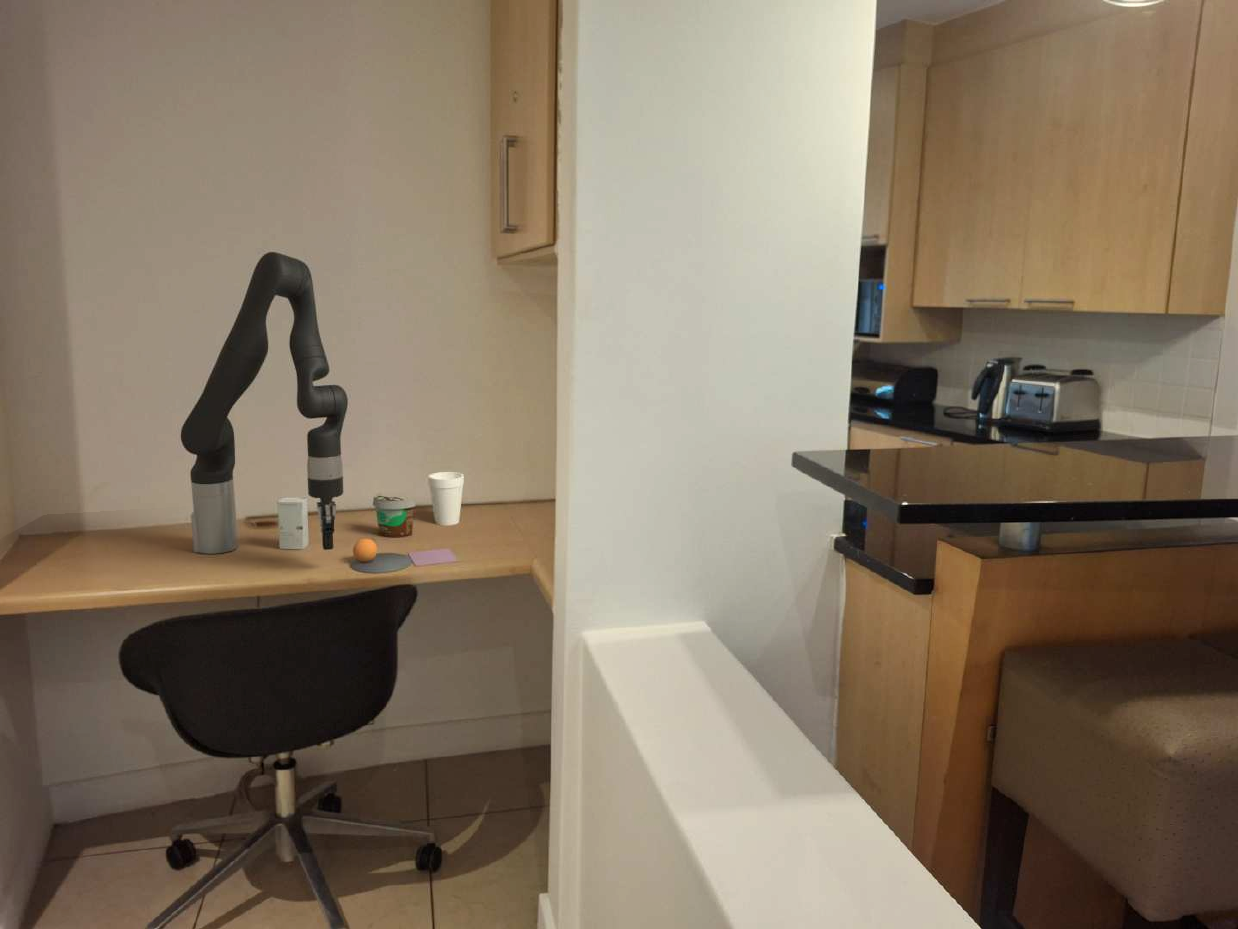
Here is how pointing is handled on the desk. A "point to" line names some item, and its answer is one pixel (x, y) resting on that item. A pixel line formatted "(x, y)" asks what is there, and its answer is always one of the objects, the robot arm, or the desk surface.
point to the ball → (365, 550)
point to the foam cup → (446, 496)
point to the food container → (394, 516)
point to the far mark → (432, 557)
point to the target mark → (382, 563)
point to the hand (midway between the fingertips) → (328, 548)
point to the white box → (293, 523)
